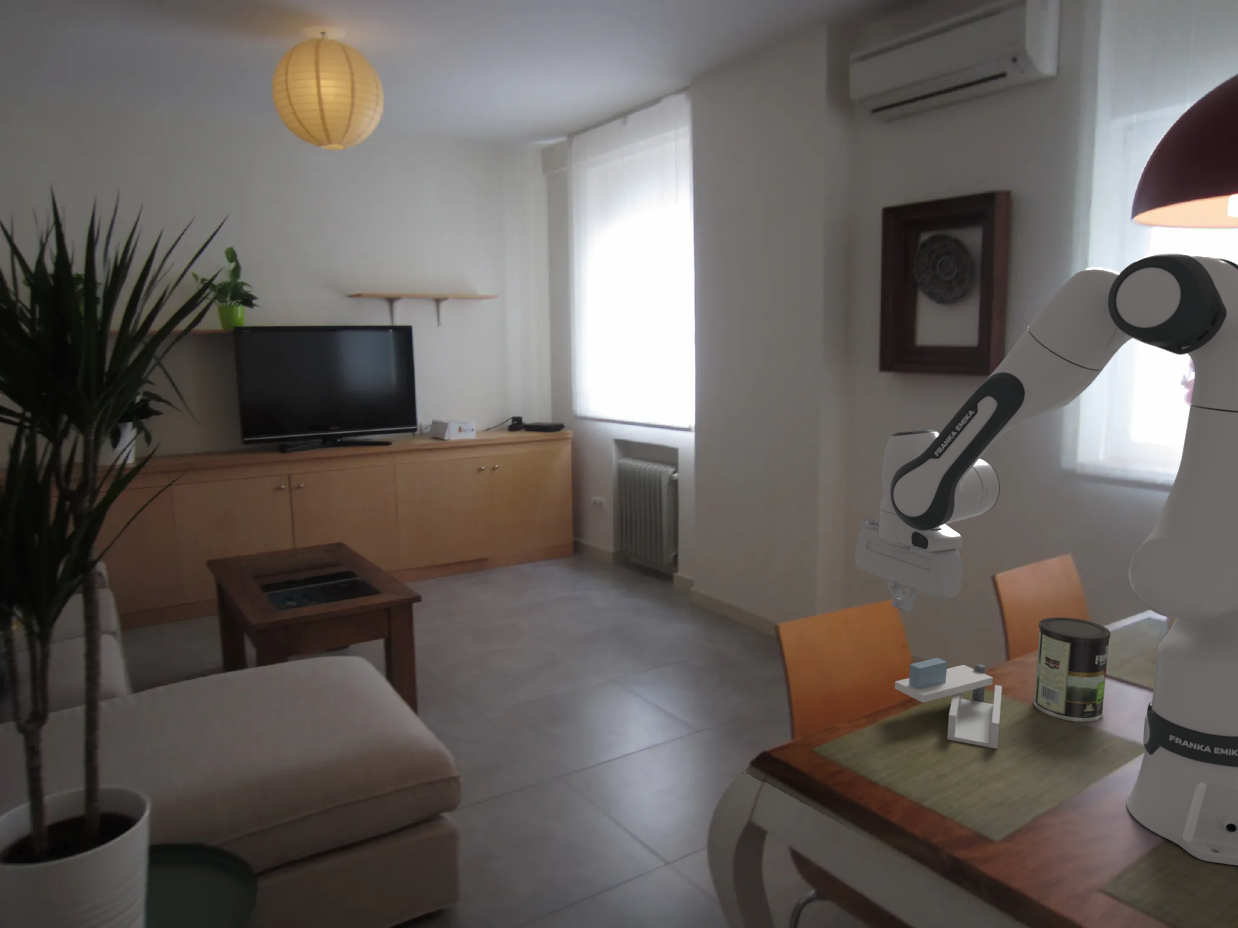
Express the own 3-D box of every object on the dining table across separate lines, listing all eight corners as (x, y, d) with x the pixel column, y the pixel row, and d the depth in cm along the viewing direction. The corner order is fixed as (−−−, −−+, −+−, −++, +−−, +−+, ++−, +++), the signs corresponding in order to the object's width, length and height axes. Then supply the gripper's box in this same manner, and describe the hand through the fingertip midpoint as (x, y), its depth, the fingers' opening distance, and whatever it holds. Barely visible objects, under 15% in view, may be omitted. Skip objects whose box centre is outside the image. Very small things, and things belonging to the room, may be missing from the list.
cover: (996, 705, 141) (1000, 655, 140) (921, 726, 134) (924, 674, 132) (967, 691, 146) (970, 643, 145) (893, 711, 139) (896, 660, 138)
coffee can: (1107, 705, 142) (1114, 624, 140) (1097, 728, 134) (1105, 643, 131) (1039, 690, 148) (1046, 612, 146) (1026, 711, 140) (1032, 629, 138)
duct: (1000, 708, 141) (1001, 685, 140) (997, 748, 127) (999, 723, 127) (954, 700, 144) (956, 678, 143) (947, 739, 130) (948, 714, 130)
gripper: (848, 516, 146) (844, 593, 149) (941, 544, 128) (935, 631, 131) (876, 512, 149) (872, 588, 152) (971, 539, 131) (964, 625, 134)
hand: (901, 608), depth 141 cm, fingers closed
